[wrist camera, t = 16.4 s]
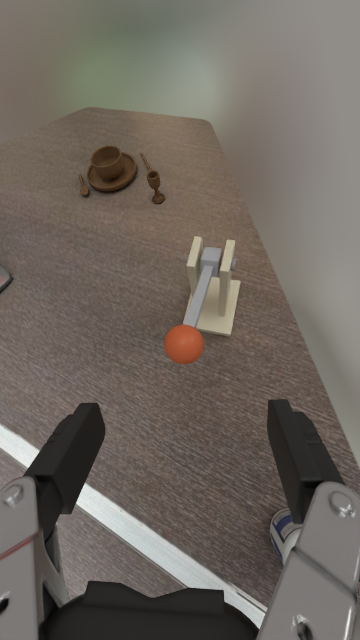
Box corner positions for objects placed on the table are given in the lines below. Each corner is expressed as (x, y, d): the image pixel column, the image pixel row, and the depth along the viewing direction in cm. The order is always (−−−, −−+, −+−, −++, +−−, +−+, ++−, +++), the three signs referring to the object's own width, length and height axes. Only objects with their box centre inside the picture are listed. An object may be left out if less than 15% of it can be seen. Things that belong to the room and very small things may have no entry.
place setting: (141, 147, 61) (133, 121, 55) (169, 200, 53) (164, 175, 48) (75, 174, 60) (61, 150, 55) (94, 230, 53) (80, 209, 47)
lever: (198, 375, 22) (199, 353, 19) (160, 366, 23) (156, 344, 20) (225, 269, 32) (228, 244, 30) (199, 265, 33) (199, 241, 30)
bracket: (230, 337, 40) (238, 295, 26) (183, 328, 42) (167, 284, 28) (239, 284, 43) (251, 223, 30) (196, 277, 45) (187, 217, 31)
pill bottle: (313, 569, 28) (359, 640, 19) (266, 551, 30) (288, 610, 21) (317, 515, 30) (360, 557, 21) (272, 500, 31) (295, 534, 22)
